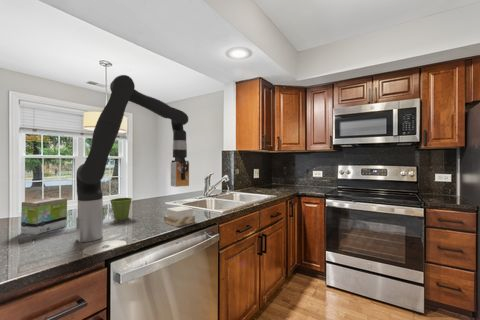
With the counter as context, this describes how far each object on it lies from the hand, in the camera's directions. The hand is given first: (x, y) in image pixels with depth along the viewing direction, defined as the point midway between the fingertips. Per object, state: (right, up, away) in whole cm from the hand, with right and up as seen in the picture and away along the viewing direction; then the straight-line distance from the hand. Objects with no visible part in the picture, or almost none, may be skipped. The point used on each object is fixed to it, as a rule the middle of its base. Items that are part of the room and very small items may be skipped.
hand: (179, 179), depth 131 cm
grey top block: (0, -20, 0) cm, 20 cm away
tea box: (-63, -24, -14) cm, 69 cm away
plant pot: (-36, -24, +8) cm, 44 cm away
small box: (0, -4, 0) cm, 4 cm away
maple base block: (0, -24, 0) cm, 24 cm away
